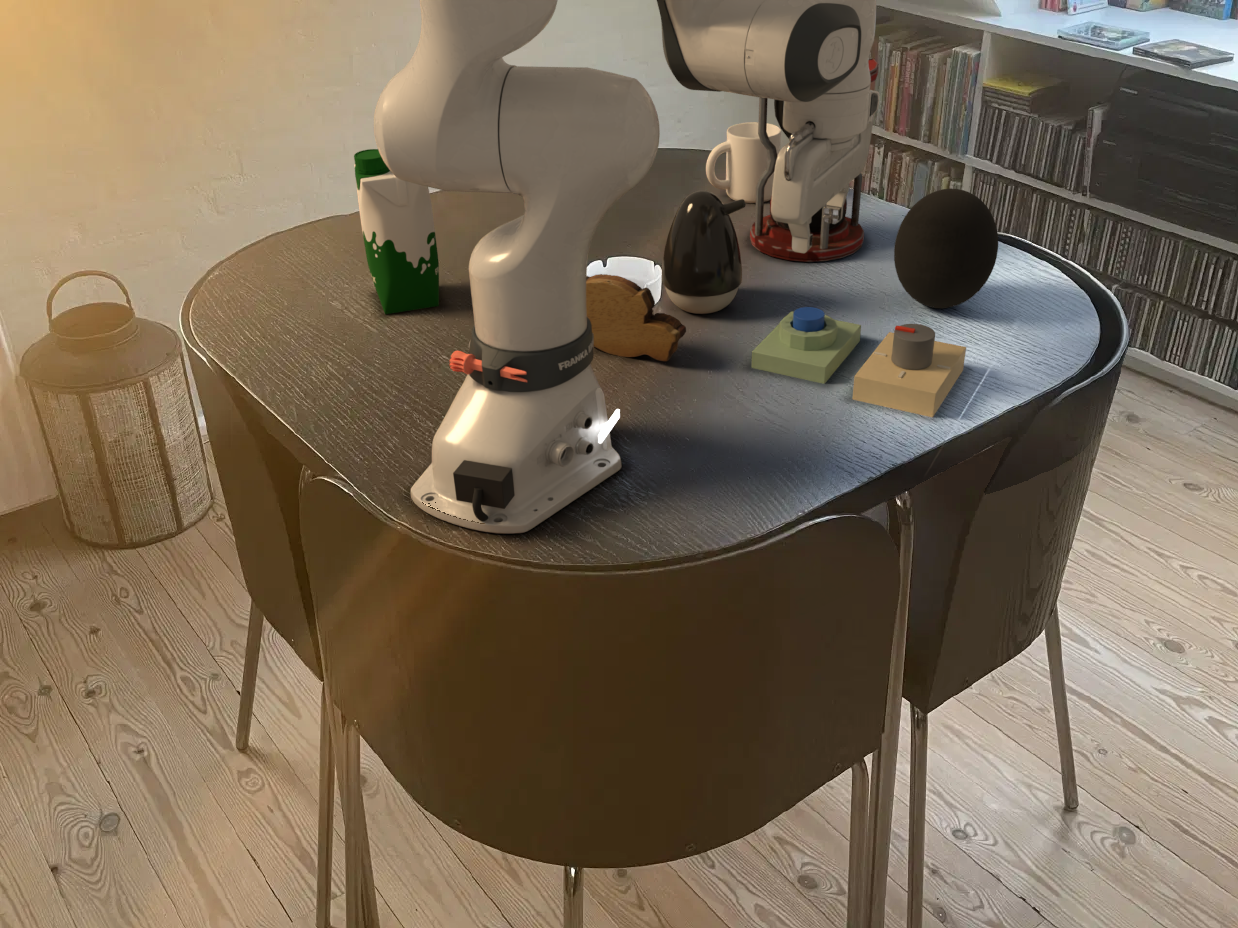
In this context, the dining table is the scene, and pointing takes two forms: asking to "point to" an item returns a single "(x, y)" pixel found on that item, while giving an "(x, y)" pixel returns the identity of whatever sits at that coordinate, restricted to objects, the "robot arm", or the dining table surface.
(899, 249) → the decorative egg
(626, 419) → the dining table surface
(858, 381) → the dial panel
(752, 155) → the mug
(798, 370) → the button housing
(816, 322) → the button
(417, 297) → the milk carton
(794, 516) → the dining table surface
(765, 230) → the hourglass
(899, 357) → the dial
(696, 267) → the pump dispenser
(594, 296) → the wooden carving
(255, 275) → the dining table surface
